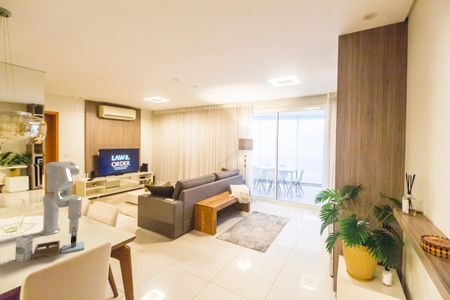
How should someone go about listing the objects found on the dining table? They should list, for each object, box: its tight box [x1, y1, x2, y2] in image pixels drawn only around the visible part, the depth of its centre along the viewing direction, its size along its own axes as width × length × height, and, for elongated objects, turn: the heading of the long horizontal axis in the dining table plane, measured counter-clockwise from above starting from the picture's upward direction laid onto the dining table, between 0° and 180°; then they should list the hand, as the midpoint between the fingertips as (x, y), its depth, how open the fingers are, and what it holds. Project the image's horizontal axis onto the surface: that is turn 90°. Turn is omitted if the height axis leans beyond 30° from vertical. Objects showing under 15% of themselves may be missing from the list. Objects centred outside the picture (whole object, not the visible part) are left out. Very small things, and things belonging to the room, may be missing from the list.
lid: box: [61, 233, 85, 255], centre depth 147 cm, size 11×13×10 cm
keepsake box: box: [33, 240, 61, 260], centre depth 139 cm, size 10×12×6 cm
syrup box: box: [14, 235, 34, 263], centre depth 131 cm, size 6×6×14 cm
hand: (73, 239), depth 147 cm, fingers open, 9 cm apart
